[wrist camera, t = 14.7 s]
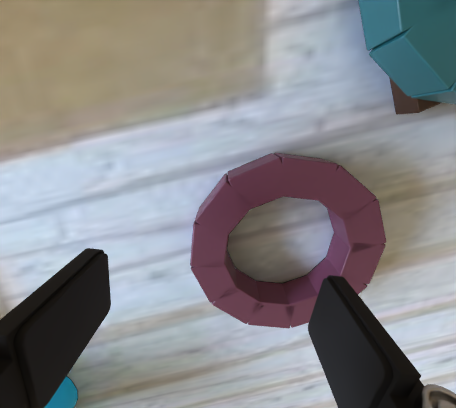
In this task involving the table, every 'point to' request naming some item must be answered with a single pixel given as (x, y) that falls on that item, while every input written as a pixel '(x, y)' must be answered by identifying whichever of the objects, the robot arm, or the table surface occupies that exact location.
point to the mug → (64, 396)
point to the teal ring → (414, 44)
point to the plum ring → (268, 191)
